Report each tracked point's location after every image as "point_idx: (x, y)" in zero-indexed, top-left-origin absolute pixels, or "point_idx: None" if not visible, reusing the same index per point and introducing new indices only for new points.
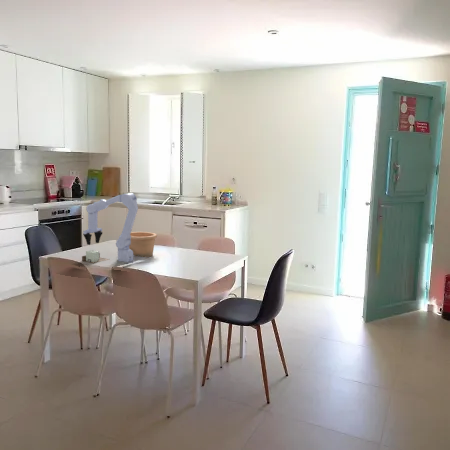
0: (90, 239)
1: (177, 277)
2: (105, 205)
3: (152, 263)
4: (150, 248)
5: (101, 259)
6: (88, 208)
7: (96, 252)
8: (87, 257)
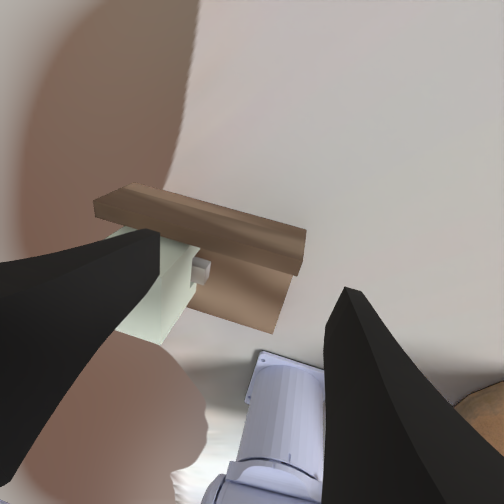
0: (92, 348)
1: (180, 499)
2: None
3: None
4: None
5: (238, 291)
6: None
7: (134, 332)
8: None
